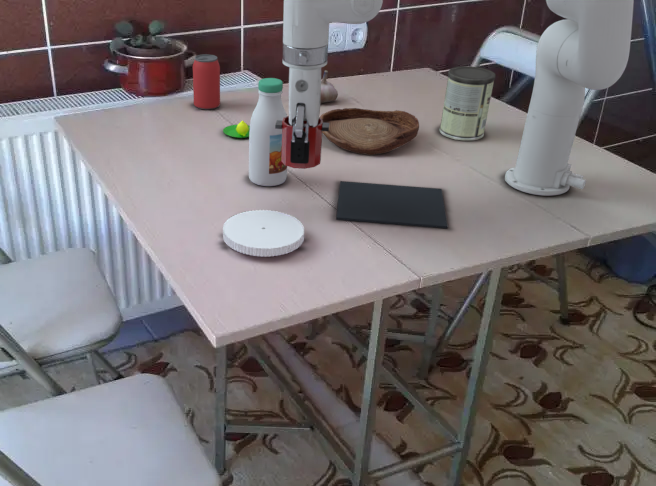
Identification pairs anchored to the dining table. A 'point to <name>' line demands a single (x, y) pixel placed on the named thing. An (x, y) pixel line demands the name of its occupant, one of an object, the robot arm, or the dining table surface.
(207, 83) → the beer can
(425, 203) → the mat
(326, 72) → the garlic bulb
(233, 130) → the lemon on green saucer
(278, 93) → the milk bottle
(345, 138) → the basket
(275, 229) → the plastic lid
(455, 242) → the dining table surface
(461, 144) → the dining table surface
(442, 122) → the coffee can
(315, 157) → the pot
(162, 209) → the dining table surface
